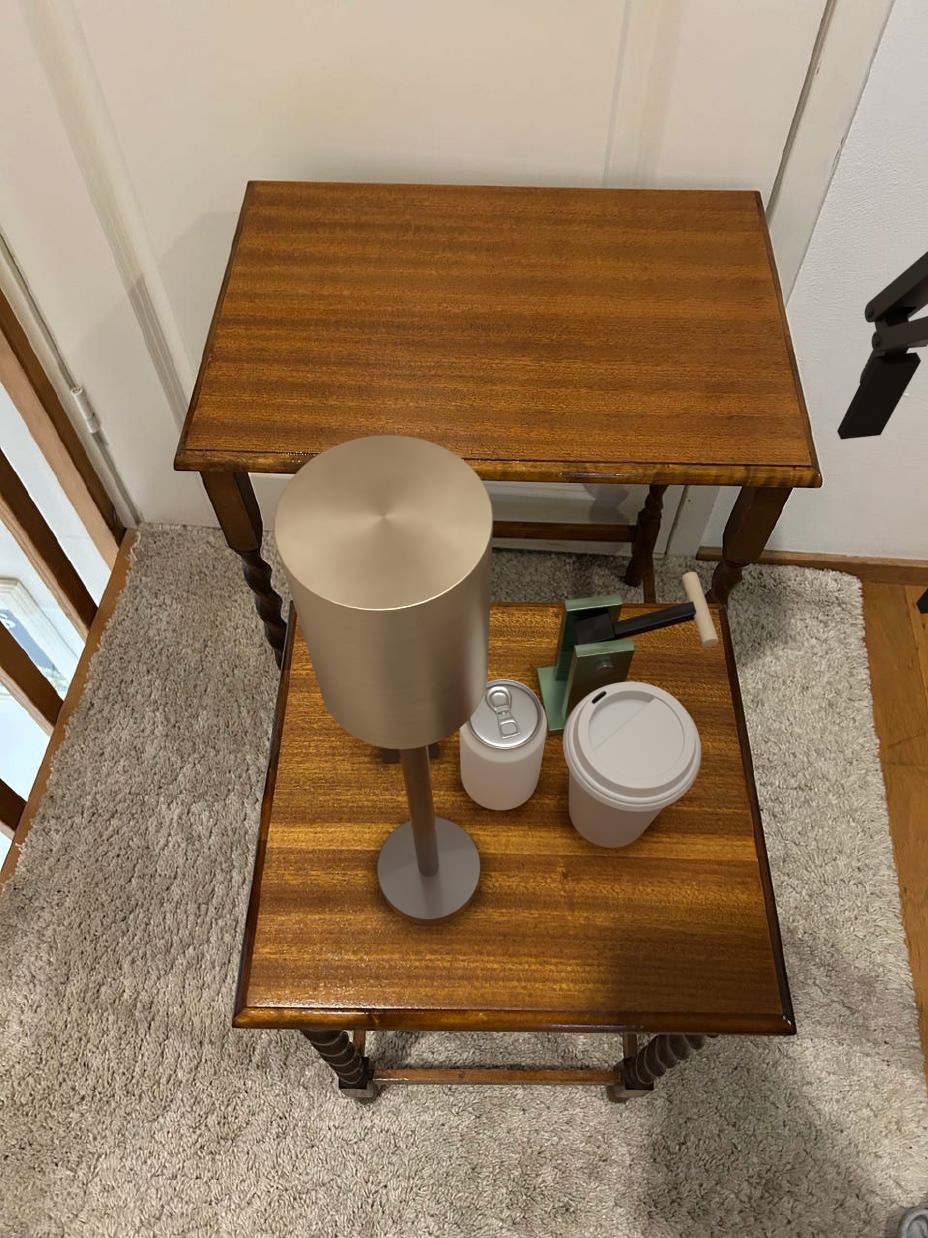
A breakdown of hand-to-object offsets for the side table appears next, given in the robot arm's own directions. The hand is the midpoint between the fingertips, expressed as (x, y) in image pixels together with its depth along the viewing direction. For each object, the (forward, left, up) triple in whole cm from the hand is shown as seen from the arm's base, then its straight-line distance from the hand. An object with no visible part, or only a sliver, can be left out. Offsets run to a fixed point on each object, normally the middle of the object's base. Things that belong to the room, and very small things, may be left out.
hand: (896, 514), depth 58 cm
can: (+10, +23, -27) cm, 37 cm away
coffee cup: (+2, +18, -27) cm, 32 cm away
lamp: (+7, +33, -27) cm, 43 cm away
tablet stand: (+18, +26, -27) cm, 42 cm away
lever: (+9, +10, -16) cm, 20 cm away
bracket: (+11, +13, -27) cm, 31 cm away
